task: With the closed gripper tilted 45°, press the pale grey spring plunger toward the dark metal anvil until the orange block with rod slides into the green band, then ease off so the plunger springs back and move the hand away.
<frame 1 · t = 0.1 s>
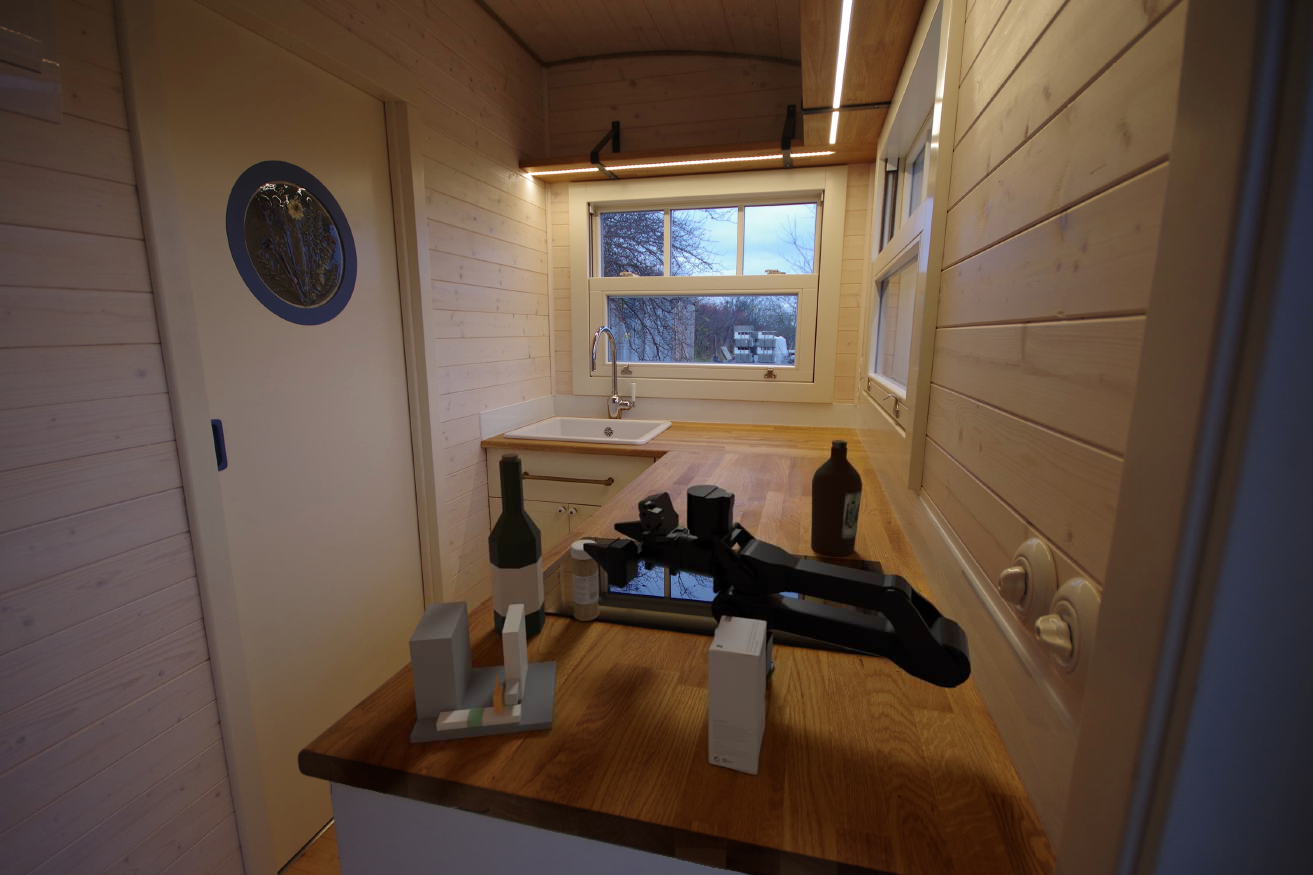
hand: (599, 535, 86), 17 cm above the worktop, tool horizontal, fingers open, 9 cm apart
skincare box: (736, 744, 64), on the worktop
wine bottle: (520, 627, 90), on the worktop
sprinkles bottle: (586, 616, 93), on the worktop
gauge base: (518, 692, 73), on the worktop
orange block with rod: (498, 692, 66), point 5 cm above the worktop, slide at 0.0 cm
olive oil: (832, 549, 120), on the worktop
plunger: (514, 657, 71), point 6 cm above the worktop, slide at 0.0 cm
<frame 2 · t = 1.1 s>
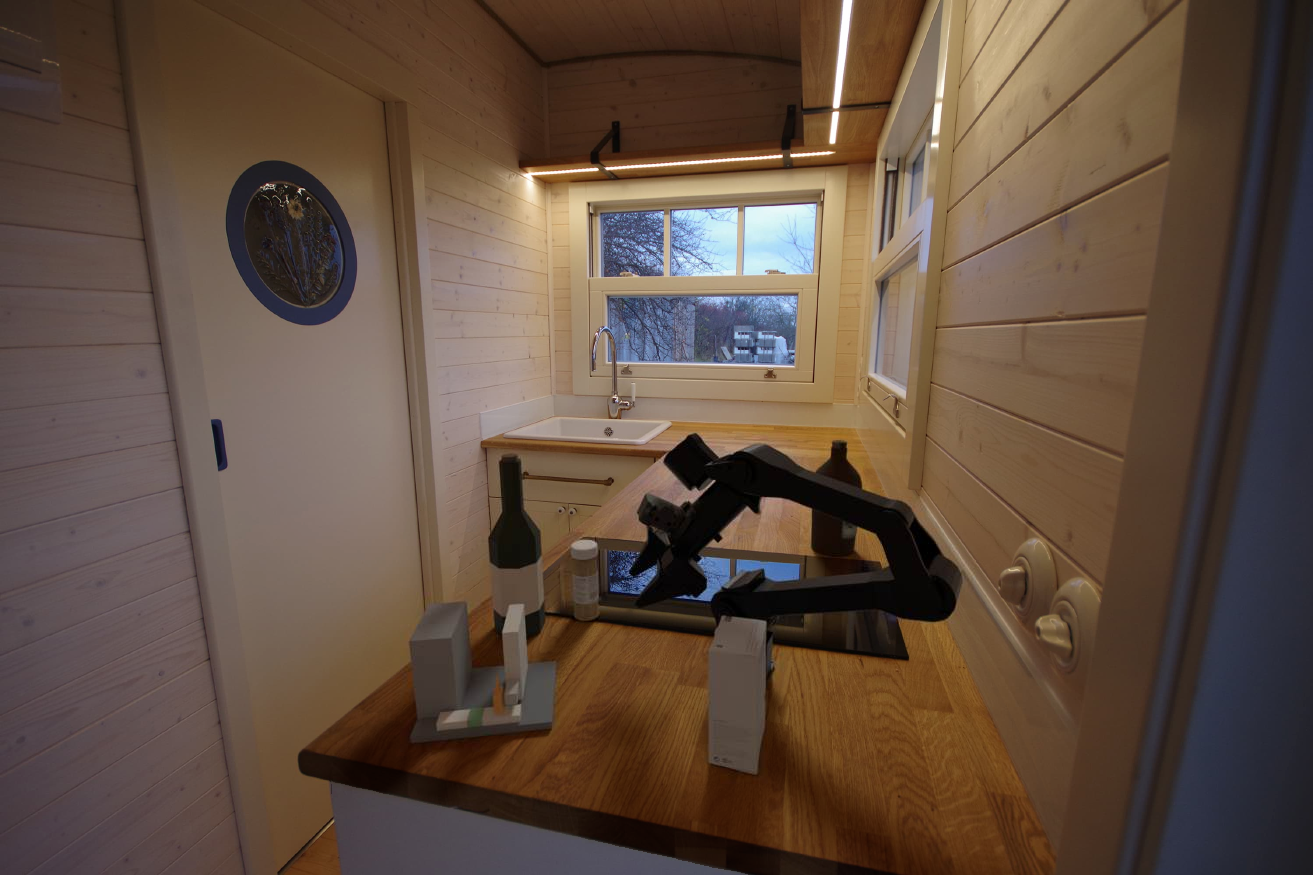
hand: (633, 589, 76), 13 cm above the worktop, tool tilted 45°, fingers open, 9 cm apart
nothing on the worktop moved.
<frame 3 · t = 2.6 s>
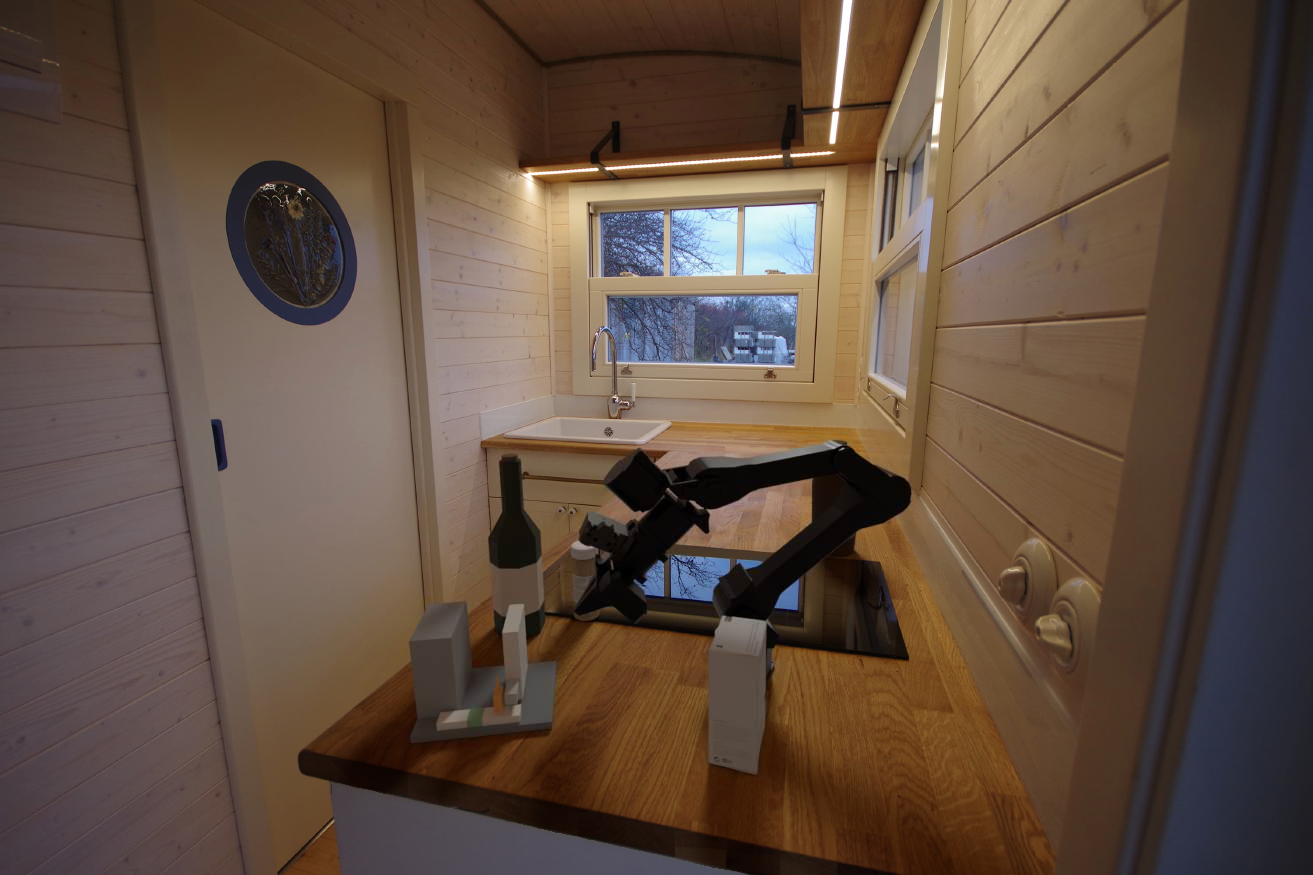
hand: (576, 612, 72), 12 cm above the worktop, tool tilted 45°, fingers closed
nothing on the worktop moved.
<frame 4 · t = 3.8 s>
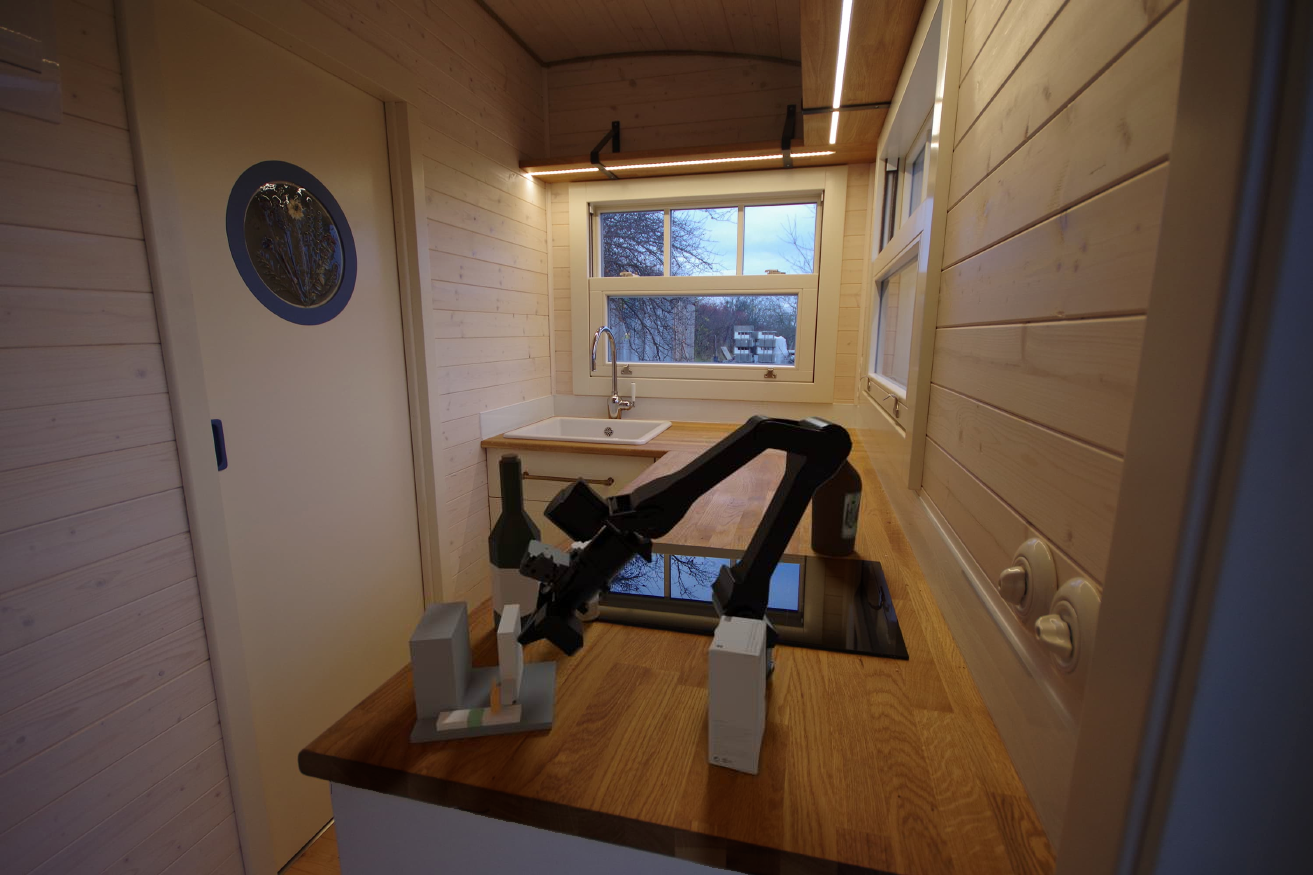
hand: (519, 641, 72), 8 cm above the worktop, tool tilted 45°, fingers closed, pressing on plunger
orange block with rod: (495, 692, 66), point 5 cm above the worktop, slide at 0.3 cm, touching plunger
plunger: (509, 657, 70), point 6 cm above the worktop, slide at 0.6 cm, touching gripper, orange block with rod
everything else where it was.
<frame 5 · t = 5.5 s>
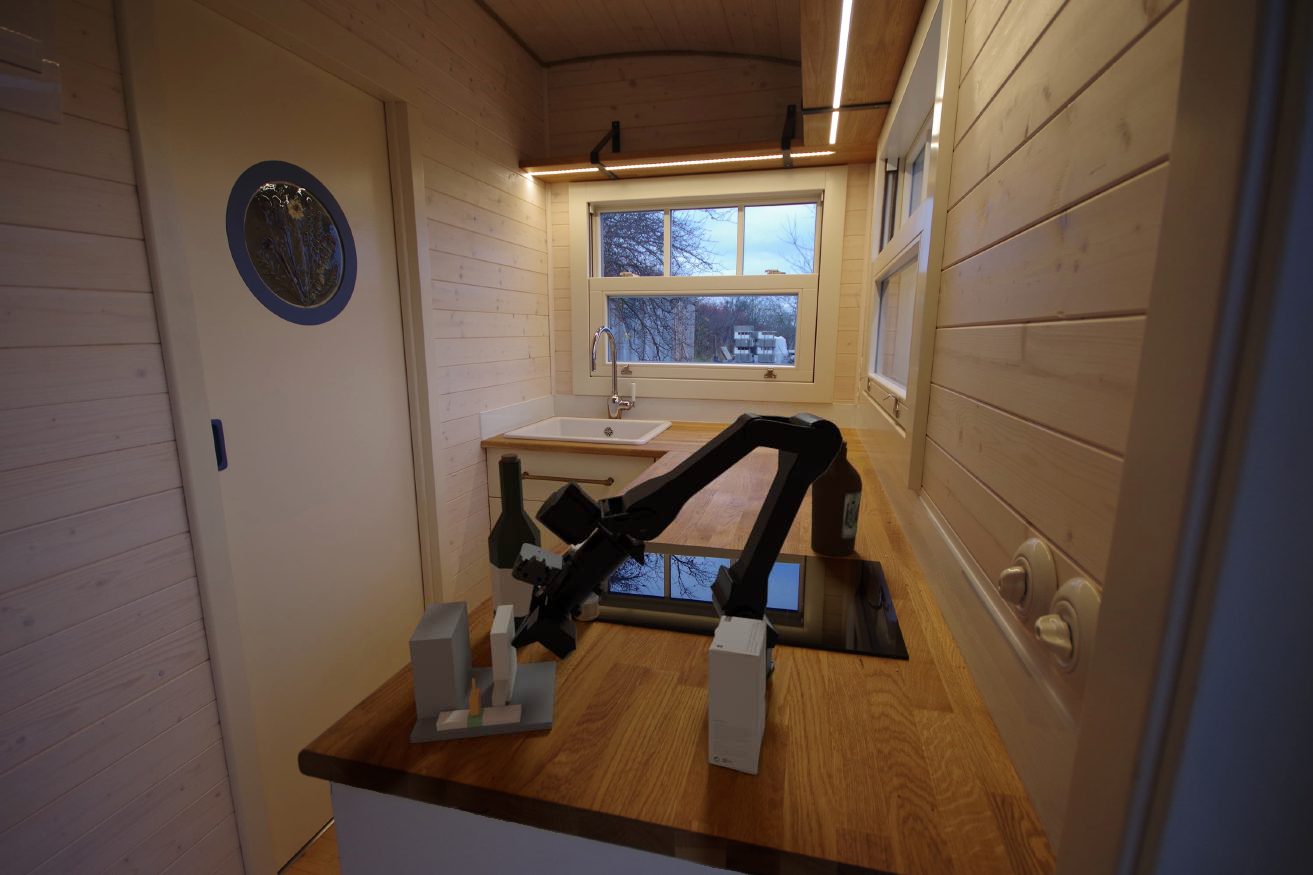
hand: (513, 645, 72), 7 cm above the worktop, tool tilted 45°, fingers closed, pressing on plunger
orange block with rod: (474, 694, 66), point 5 cm above the worktop, slide at 2.9 cm
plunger: (502, 658, 70), point 6 cm above the worktop, slide at 1.5 cm, touching gripper
everything else where it was.
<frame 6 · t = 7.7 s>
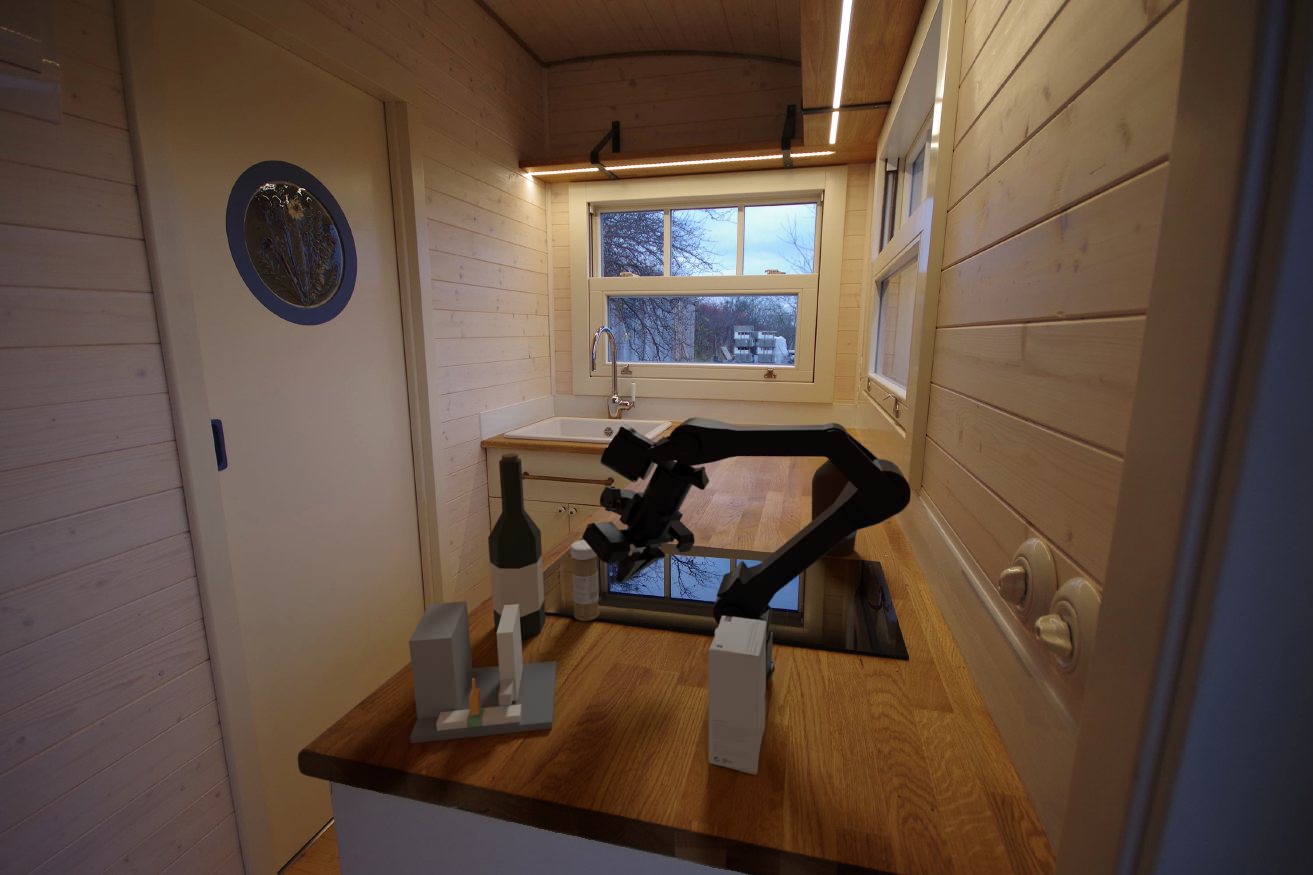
hand: (619, 581, 81), 12 cm above the worktop, tool tilted 25°, fingers closed
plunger: (509, 657, 70), point 6 cm above the worktop, slide at 0.7 cm
everything else where it was.
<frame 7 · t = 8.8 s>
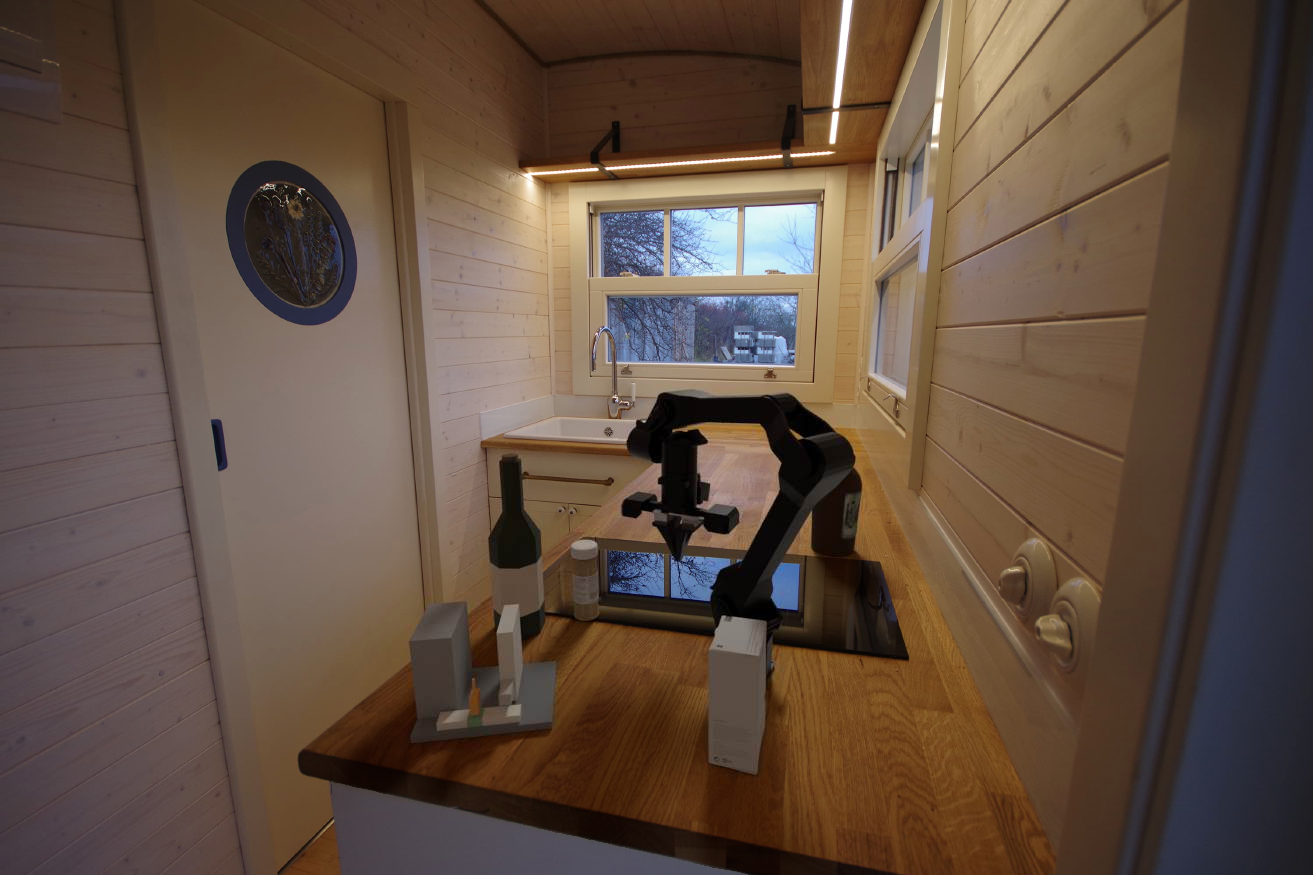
hand: (678, 560, 87), 12 cm above the worktop, tool pointing down, fingers closed
nothing on the worktop moved.
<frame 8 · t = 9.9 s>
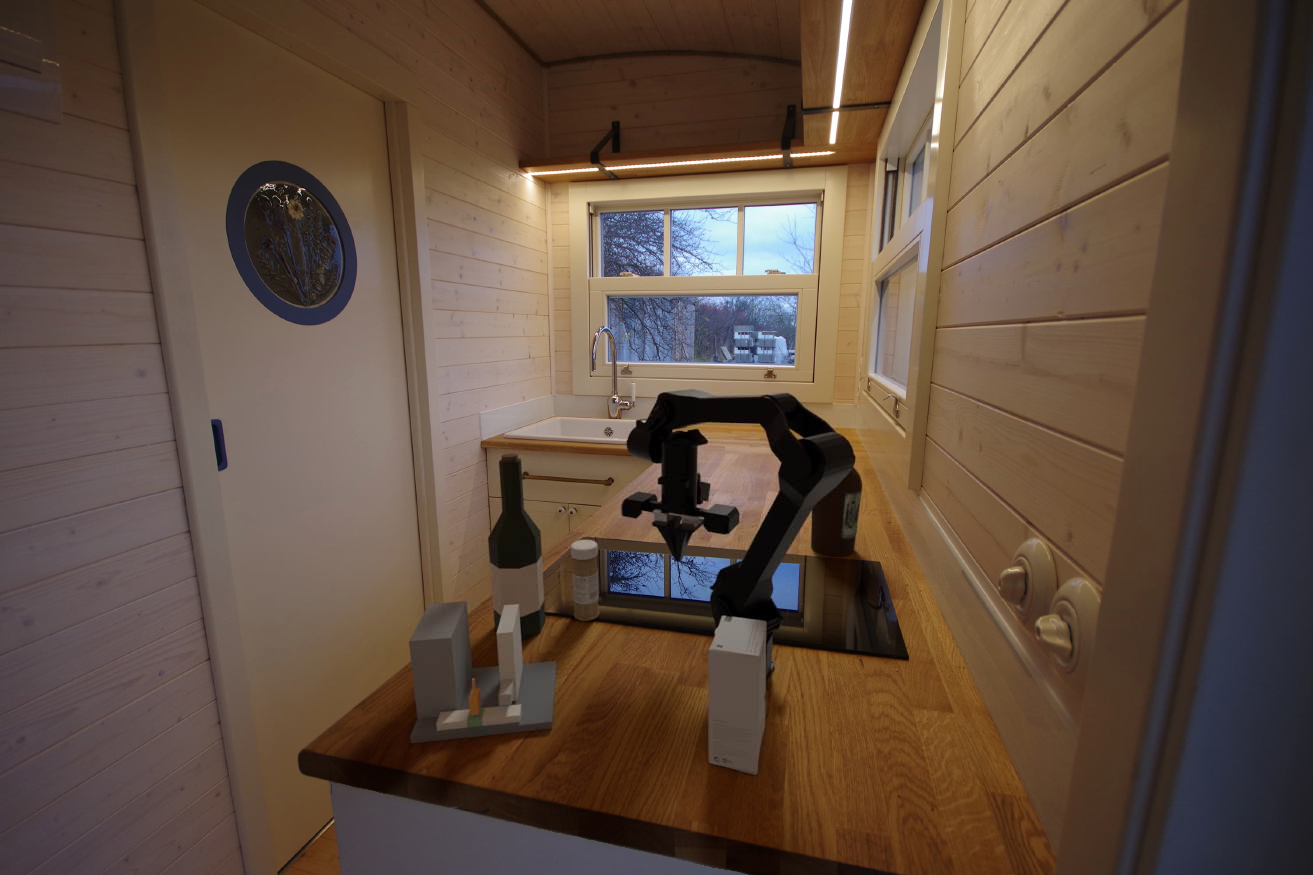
hand: (678, 560, 87), 12 cm above the worktop, tool pointing down, fingers closed
nothing on the worktop moved.
at the end: orange block with rod slide at 2.9 cm; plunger slide at 0.7 cm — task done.
